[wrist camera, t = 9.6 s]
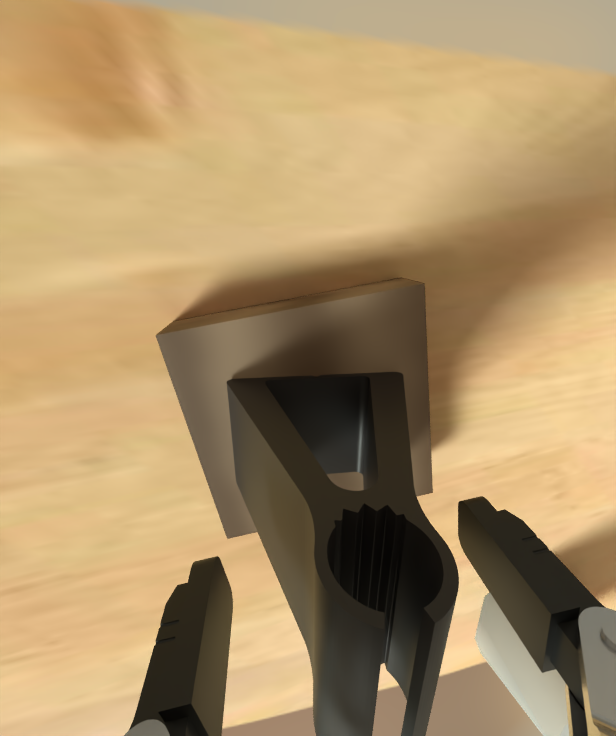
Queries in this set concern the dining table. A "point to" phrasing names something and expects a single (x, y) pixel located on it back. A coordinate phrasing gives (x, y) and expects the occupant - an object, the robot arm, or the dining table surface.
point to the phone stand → (347, 538)
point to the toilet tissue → (522, 671)
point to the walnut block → (298, 369)
